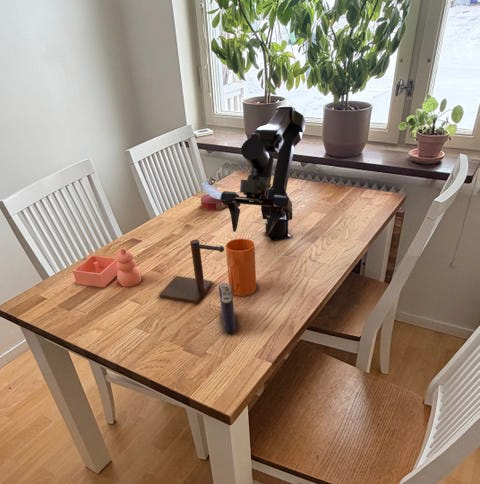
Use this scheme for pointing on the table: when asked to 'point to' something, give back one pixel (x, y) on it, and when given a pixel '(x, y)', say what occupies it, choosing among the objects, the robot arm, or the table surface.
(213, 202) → the canned food
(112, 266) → the pottery
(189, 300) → the hook stand
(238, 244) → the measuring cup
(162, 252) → the table surface
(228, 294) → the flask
